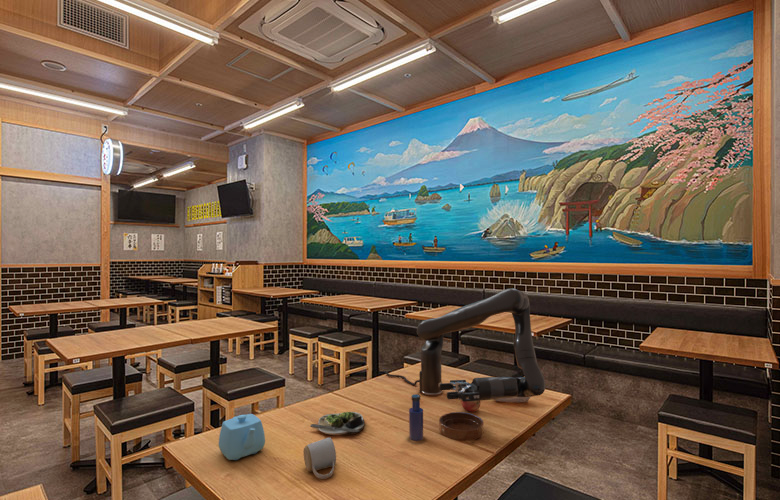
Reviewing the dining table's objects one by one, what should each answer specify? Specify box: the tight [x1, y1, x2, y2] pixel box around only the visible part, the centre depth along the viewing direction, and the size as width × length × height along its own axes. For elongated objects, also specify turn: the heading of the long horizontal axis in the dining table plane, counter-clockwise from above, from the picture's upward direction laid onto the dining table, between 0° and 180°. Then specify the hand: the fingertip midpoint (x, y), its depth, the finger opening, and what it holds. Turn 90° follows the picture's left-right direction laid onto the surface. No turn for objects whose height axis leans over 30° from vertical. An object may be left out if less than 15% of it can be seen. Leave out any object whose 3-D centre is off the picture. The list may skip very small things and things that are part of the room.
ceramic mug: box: [303, 436, 337, 480], centre depth 110 cm, size 11×8×8 cm
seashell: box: [494, 397, 531, 404], centre depth 160 cm, size 9×11×15 cm
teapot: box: [218, 413, 266, 461], centre depth 120 cm, size 12×18×12 cm
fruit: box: [460, 398, 481, 413], centre depth 151 cm, size 8×8×8 cm
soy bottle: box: [408, 394, 425, 442], centre depth 128 cm, size 5×5×15 cm
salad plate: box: [309, 411, 365, 436], centre depth 138 cm, size 19×18×5 cm
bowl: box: [438, 411, 485, 442], centre depth 133 cm, size 15×15×4 cm
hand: (443, 391), depth 131 cm, fingers open, 8 cm apart
